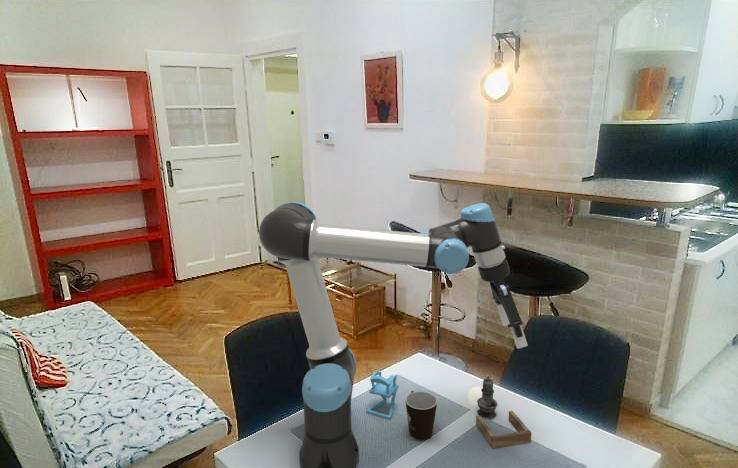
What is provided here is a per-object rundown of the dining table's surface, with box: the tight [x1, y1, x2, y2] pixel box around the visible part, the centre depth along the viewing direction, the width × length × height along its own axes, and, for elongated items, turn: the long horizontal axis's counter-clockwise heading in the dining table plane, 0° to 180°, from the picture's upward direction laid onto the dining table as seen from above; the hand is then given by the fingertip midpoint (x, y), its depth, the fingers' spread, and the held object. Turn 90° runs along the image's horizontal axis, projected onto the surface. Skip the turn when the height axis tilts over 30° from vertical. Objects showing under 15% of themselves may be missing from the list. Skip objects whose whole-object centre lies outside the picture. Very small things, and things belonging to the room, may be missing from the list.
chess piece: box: [476, 376, 499, 420], centre depth 131 cm, size 6×6×12 cm
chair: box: [366, 370, 399, 421], centre depth 134 cm, size 8×8×12 cm
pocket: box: [475, 410, 532, 450], centre depth 123 cm, size 10×11×3 cm
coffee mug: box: [404, 390, 438, 441], centre depth 125 cm, size 12×9×10 cm
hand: (514, 335), depth 120 cm, fingers open, 13 cm apart
